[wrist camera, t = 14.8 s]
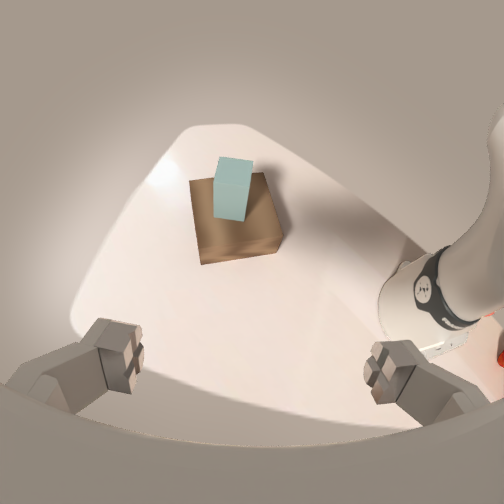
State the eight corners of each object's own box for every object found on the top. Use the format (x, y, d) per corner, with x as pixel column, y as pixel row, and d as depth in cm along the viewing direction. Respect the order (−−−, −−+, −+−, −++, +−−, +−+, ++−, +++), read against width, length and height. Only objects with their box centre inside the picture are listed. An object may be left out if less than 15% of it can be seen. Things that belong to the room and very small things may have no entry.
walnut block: (258, 194, 51) (263, 172, 46) (275, 253, 46) (283, 235, 41) (191, 202, 49) (189, 180, 43) (200, 265, 44) (198, 248, 39)
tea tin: (247, 197, 43) (253, 161, 36) (244, 221, 41) (249, 186, 34) (218, 193, 43) (219, 156, 36) (213, 217, 41) (213, 181, 34)
